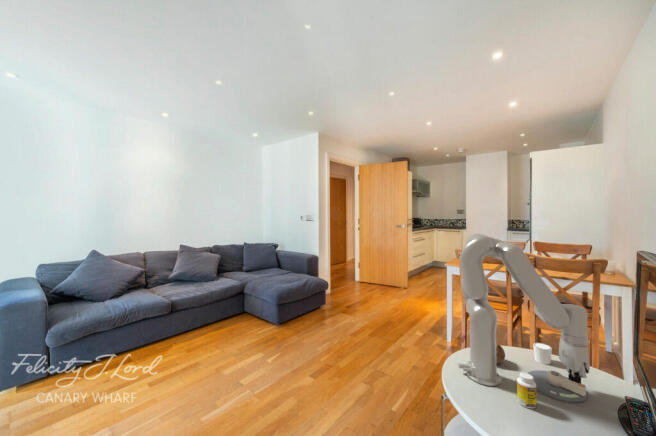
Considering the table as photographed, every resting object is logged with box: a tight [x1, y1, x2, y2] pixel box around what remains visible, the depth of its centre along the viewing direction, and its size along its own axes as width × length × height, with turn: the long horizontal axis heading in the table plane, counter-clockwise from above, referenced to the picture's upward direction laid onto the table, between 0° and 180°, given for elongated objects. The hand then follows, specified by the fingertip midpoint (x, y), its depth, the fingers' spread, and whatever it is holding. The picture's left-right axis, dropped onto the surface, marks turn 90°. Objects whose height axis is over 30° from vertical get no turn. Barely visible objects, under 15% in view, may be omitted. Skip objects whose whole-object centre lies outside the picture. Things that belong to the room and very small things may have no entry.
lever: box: [547, 370, 587, 396], centre depth 100 cm, size 11×5×4 cm, turn 28°
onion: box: [496, 342, 506, 364], centre depth 122 cm, size 10×9×10 cm
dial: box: [527, 369, 588, 404], centre depth 103 cm, size 18×18×2 cm
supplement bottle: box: [516, 372, 537, 409], centre depth 95 cm, size 6×6×10 cm
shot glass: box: [532, 342, 553, 365], centre depth 121 cm, size 7×7×7 cm
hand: (574, 385), depth 100 cm, fingers closed
